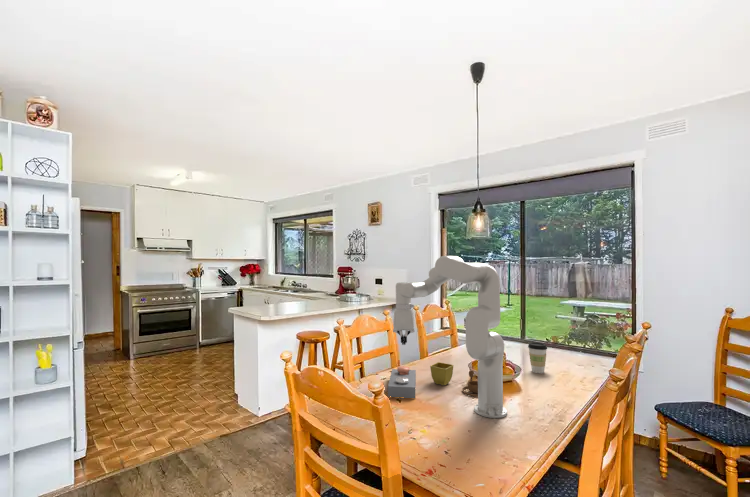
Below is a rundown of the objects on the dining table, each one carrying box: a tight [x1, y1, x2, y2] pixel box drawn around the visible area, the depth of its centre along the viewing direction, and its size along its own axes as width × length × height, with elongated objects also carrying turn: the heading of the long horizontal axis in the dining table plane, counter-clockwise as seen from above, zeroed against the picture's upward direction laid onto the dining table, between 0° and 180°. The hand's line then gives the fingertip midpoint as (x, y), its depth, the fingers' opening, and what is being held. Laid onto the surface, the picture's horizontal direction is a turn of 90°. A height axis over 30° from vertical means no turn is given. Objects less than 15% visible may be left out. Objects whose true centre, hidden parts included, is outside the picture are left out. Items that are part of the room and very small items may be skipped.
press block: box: [387, 368, 417, 399], centre depth 169 cm, size 26×12×5 cm, turn 173°
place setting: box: [461, 370, 478, 398], centre depth 167 cm, size 18×20×6 cm
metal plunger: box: [396, 377, 409, 384], centre depth 162 cm, size 6×6×6 cm
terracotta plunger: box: [396, 365, 410, 375], centre depth 176 cm, size 6×6×6 cm
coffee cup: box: [527, 342, 548, 374], centre depth 196 cm, size 10×10×15 cm
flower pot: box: [429, 361, 454, 386], centre depth 175 cm, size 9×9×9 cm
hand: (403, 344), depth 176 cm, fingers closed
